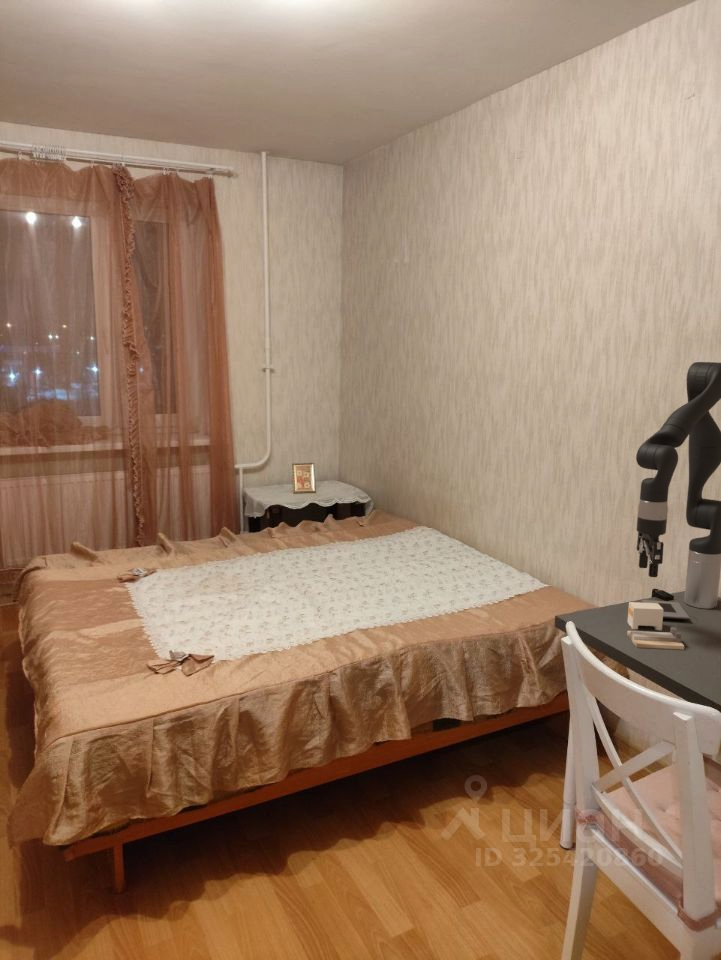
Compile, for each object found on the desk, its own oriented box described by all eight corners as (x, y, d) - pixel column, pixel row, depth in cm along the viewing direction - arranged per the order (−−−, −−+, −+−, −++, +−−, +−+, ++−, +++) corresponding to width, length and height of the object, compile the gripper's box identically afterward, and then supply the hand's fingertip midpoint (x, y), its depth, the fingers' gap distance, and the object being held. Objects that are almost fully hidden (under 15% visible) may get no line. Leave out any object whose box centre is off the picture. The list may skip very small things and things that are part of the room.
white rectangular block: (631, 629, 191) (633, 608, 190) (626, 622, 196) (628, 602, 195) (661, 630, 190) (663, 609, 189) (656, 623, 195) (657, 603, 194)
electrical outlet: (688, 624, 196) (689, 616, 195) (650, 621, 198) (650, 613, 198) (677, 608, 208) (678, 601, 208) (641, 606, 211) (641, 598, 210)
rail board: (627, 634, 188) (628, 622, 187) (672, 636, 186) (673, 624, 186) (636, 647, 179) (637, 635, 178) (684, 649, 178) (685, 637, 177)
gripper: (675, 522, 180) (670, 580, 183) (657, 510, 194) (652, 565, 197) (646, 521, 181) (642, 579, 184) (630, 510, 195) (626, 564, 197)
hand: (647, 572), depth 190 cm, fingers open, 8 cm apart
